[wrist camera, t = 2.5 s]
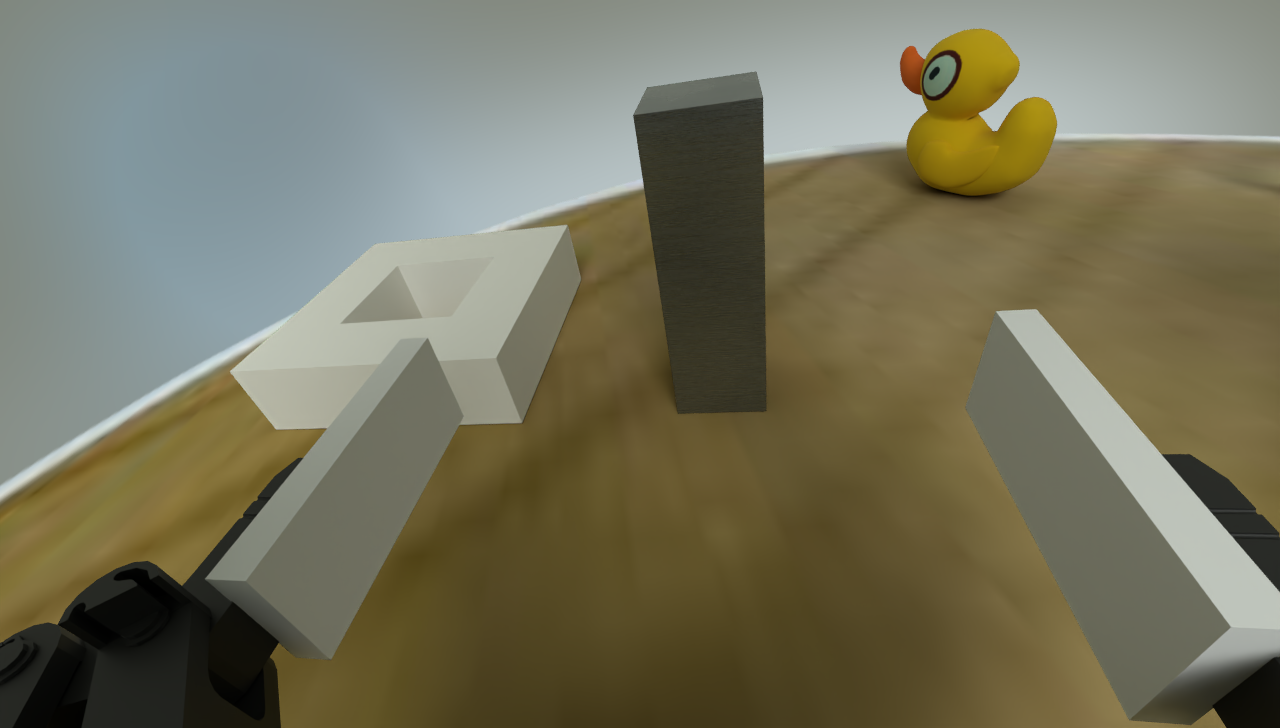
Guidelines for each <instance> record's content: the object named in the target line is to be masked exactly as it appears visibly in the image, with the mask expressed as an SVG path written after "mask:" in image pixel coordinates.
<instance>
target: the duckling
mask: <svg viewBox="0 0 1280 728" xmlns="http://www.w3.org/2000/svg"><path fill="white" fill-rule="evenodd" d="M1019 64H1020V63H1019V59H1018V57H1017V56H1016V55H1015V54H1014V53H1013V51H1012V50H1011V48H1010V47H1009V46H1008V44H1007V43H1006V42H1005V41H1004V40H1003V39H1002V38H1001V37H1000V36H999V35H998V34H996V33H994V32H992V31H989V30H985V29H970V30H964V31H961V32H958V33H956V34H953V35H951V36H949V37H947V38H945V39H943V40H942V41H940V42H939V43H938V44H936V45H935V46H934V47H933V48H932V49H931V51H930V52H929V53H928V55H927V57H926V59H923V58H922V57H921V56H920V55H919V54H918V53H917V51H916V48H915V47H914V46H909V47H907V48H906V49H905V51H904V52H903V54H902V57H901V61H900V71H901V77H902V81H903V83H904V85H905V86H906V87H907V88H908V89H909V90H910V91H911V92H913V93H915V94H919V95H922V98H923V101H924V103H925V105H926V108H927V110H928V111H927V112H926V113H924V114H923V115H922V116H921V117H920V118H919V119H918V120H917V121H916V122H915V123H914V125H913V126H912V128H911V130H910V132H909V135H908V139H907V154H908V158H909V160H910V162H911V164H912V166H913V168H914V170H915V171H916V173H917V174H918V176H919V177H920V178H921V180H922V181H923V182H925V183H926V184H927V185H929V186H931V187H933V188H936V189H939V190H944V191H948V192H952V193H957V194H961V195H970V196H976V195H986V194H992V193H998V192H1002V191H1005V190H1009V189H1011V188H1014V187H1016V186H1018V185H1020V184H1022V183H1023V182H1025V181H1027V180H1028V179H1030V178H1031V177H1032V176H1033V175H1035V174H1036V173H1037V172H1038V170H1039V169H1040V167H1041V166H1042V164H1043V163H1044V161H1045V159H1046V157H1047V155H1048V153H1049V150H1050V148H1051V145H1052V142H1053V139H1054V136H1055V133H1056V128H1057V120H1056V116H1055V113H1054V110H1053V108H1052V106H1051V104H1050V103H1049V102H1048V101H1046V100H1044V99H1043V98H1039V97H1032V98H1027V99H1024V100H1023V101H1021V102H1019V103H1018V104H1016V105H1015V106H1014V107H1013V108H1012V109H1011V111H1010V112H1009V113H1008V115H1007V116H1006V118H1005V120H1004V121H1003V123H1002V124H1001V126H1000V128H999V129H998V131H992V129H991V128H990V127H989V126H988V125H987V124H986V122H985V121H984V120H983V119H982V118H981V117H980V115H979V114H978V113H979V112H982V111H984V110H986V109H987V108H989V107H991V106H992V105H993V104H994V103H995V102H996V101H997V100H998V99H999V98H1000V97H1001V96H1002V95H1003V93H1004V92H1005V91H1006V89H1007V87H1008V86H1009V85H1010V84H1011V83H1012V82H1013V81H1014V79H1015V78H1016V76H1017V74H1018V71H1019V66H1020V65H1019Z"/></svg>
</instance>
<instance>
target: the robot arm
mask: <svg viewBox="0 0 1280 728" xmlns="http://www.w3.org/2000/svg"><path fill="white" fill-rule="evenodd" d="M965 408H966V410H967V412H968V414H969V416H970V418H971V419H972V421H973V423H974V425H975V427H976V429H977V431H978V433H979V435H980V437H981V439H982V440H983V442H984V444H985V446H986V448H987V450H988V452H989V454H990V456H991V458H992V460H993V461H994V463H995V465H996V467H997V469H998V471H999V473H1000V475H1001V477H1002V479H1003V481H1004V482H1005V484H1006V486H1007V488H1008V490H1009V492H1010V494H1011V496H1012V498H1013V500H1014V502H1015V503H1016V505H1017V507H1018V509H1019V511H1020V513H1021V515H1022V517H1023V519H1024V521H1025V522H1026V524H1027V526H1028V528H1029V530H1030V532H1031V534H1032V536H1033V538H1034V540H1035V542H1036V543H1037V545H1038V547H1039V549H1040V551H1041V553H1042V555H1043V557H1044V559H1045V561H1046V563H1047V564H1048V566H1049V568H1050V570H1051V572H1052V574H1053V576H1054V578H1055V580H1056V582H1057V584H1058V585H1059V587H1060V589H1061V591H1062V593H1063V595H1064V597H1065V599H1066V601H1067V603H1068V605H1069V606H1070V608H1071V610H1072V612H1073V614H1074V616H1075V618H1076V620H1077V622H1078V624H1079V626H1080V627H1081V629H1082V631H1083V633H1084V635H1085V637H1086V639H1087V641H1088V643H1089V645H1090V646H1091V648H1092V650H1093V652H1094V654H1095V656H1096V658H1097V660H1098V662H1099V664H1100V666H1101V667H1102V669H1103V671H1104V673H1105V675H1106V677H1107V679H1108V681H1109V683H1110V685H1111V687H1112V688H1113V690H1114V692H1115V694H1116V696H1117V698H1118V700H1119V702H1120V704H1121V706H1122V708H1123V709H1124V711H1125V713H1126V715H1127V717H1128V719H1129V720H1133V721H1146V722H1159V723H1172V724H1186V725H1192V724H1193V723H1194V722H1196V721H1197V720H1198V719H1199V718H1201V717H1202V716H1203V715H1205V714H1206V713H1207V712H1209V711H1210V710H1211V709H1212V708H1214V709H1215V711H1216V712H1217V714H1218V715H1219V717H1220V718H1221V720H1222V721H1223V723H1224V725H1225V726H1226V728H1280V537H1279V532H1278V531H1277V530H1276V529H1275V528H1274V527H1273V526H1272V525H1271V524H1270V523H1269V522H1268V521H1267V520H1266V519H1265V518H1264V516H1263V515H1258V514H1257V513H1256V508H1255V507H1254V506H1253V505H1252V504H1251V503H1250V502H1249V501H1248V500H1247V499H1246V497H1245V496H1244V495H1243V494H1242V493H1241V492H1240V491H1239V490H1238V489H1237V488H1236V487H1235V486H1234V485H1233V484H1232V483H1231V482H1230V481H1229V479H1227V478H1226V477H1224V476H1222V475H1221V474H1219V473H1218V472H1216V471H1215V470H1213V469H1212V468H1210V467H1209V466H1207V465H1206V464H1204V463H1202V462H1201V461H1199V460H1198V459H1196V458H1195V457H1193V456H1192V455H1190V454H1160V452H1159V451H1158V450H1157V449H1156V448H1155V447H1154V445H1153V444H1152V443H1151V442H1150V441H1149V440H1148V438H1147V437H1146V436H1145V435H1144V434H1143V433H1142V431H1141V430H1140V429H1139V428H1138V427H1137V426H1136V424H1135V423H1134V422H1133V421H1132V420H1131V419H1130V418H1129V416H1128V415H1127V414H1126V413H1125V412H1124V411H1123V409H1122V408H1121V407H1120V406H1119V405H1118V404H1117V402H1116V401H1115V400H1114V399H1113V398H1112V397H1111V395H1110V394H1109V393H1108V392H1107V391H1106V390H1105V388H1104V387H1103V386H1102V385H1101V384H1100V383H1099V381H1098V380H1097V379H1096V378H1095V377H1094V376H1093V374H1092V373H1091V372H1090V371H1089V370H1088V369H1087V368H1086V366H1085V365H1084V364H1083V363H1082V362H1081V361H1080V359H1079V358H1078V357H1077V356H1076V355H1075V354H1074V352H1073V351H1072V350H1071V349H1070V348H1069V347H1068V345H1067V344H1066V343H1065V342H1064V341H1063V340H1062V338H1061V337H1060V336H1059V335H1058V334H1057V333H1056V331H1055V330H1054V329H1053V328H1052V327H1051V326H1050V324H1049V323H1048V322H1047V321H1046V320H1045V319H1044V318H1043V316H1042V315H1041V314H1040V313H1039V312H1038V311H1037V309H1032V310H1011V311H996V312H995V315H994V319H993V322H992V325H991V328H990V331H989V334H988V338H987V341H986V344H985V347H984V350H983V353H982V357H981V360H980V363H979V366H978V369H977V372H976V375H975V379H974V382H973V385H972V388H971V391H970V394H969V398H968V401H967V404H966V407H965ZM463 417H464V415H463V413H462V411H461V409H460V406H459V404H458V402H457V400H456V398H455V396H454V393H453V391H452V389H451V387H450V385H449V383H448V380H447V378H446V376H445V374H444V372H443V370H442V368H441V365H440V363H439V361H438V359H437V357H436V355H435V352H434V350H433V348H432V346H431V344H430V342H429V339H428V338H408V339H400V340H399V341H398V343H397V344H396V345H395V346H394V348H393V349H392V350H391V351H390V352H389V354H388V355H387V356H386V357H385V359H384V360H383V361H382V362H381V363H380V365H379V366H378V367H377V368H376V370H375V371H374V372H373V373H372V375H371V376H370V377H369V378H368V379H367V381H366V382H365V383H364V384H363V386H362V387H361V388H360V389H359V391H358V392H357V393H356V394H355V395H354V397H353V398H352V399H351V400H350V402H349V403H348V404H347V405H346V406H345V408H344V409H343V410H342V411H341V413H340V414H339V415H338V416H337V418H336V419H335V420H334V421H333V422H332V424H331V425H330V426H329V427H328V429H327V430H326V431H325V432H324V434H323V435H322V436H321V437H320V438H319V440H318V441H317V442H316V443H315V445H314V446H313V447H312V448H311V449H310V451H309V452H308V453H307V454H306V456H305V457H304V458H298V459H296V460H295V461H294V462H292V463H291V464H290V465H289V466H287V467H286V468H285V469H283V470H282V471H281V472H280V473H278V474H277V475H276V476H275V477H274V478H273V479H272V480H271V481H270V483H269V484H268V485H267V486H266V487H265V489H264V490H263V491H262V492H261V493H260V495H259V496H258V500H257V501H254V502H253V503H252V504H251V505H250V506H249V508H248V509H247V510H246V511H245V512H244V514H243V518H242V519H239V520H238V521H237V522H236V523H235V524H234V525H233V527H232V528H231V529H230V530H229V531H228V533H227V534H226V535H225V536H224V537H223V539H222V540H221V541H220V542H219V543H218V545H217V546H216V547H215V548H214V549H213V550H212V552H211V553H210V554H209V555H208V556H207V558H206V559H205V560H204V561H203V562H202V564H201V565H200V566H199V567H198V568H197V570H196V571H195V572H194V573H193V574H192V575H191V577H190V578H189V579H188V580H187V581H186V582H185V583H184V585H183V586H181V585H180V584H179V583H177V582H176V581H175V580H174V579H173V578H171V577H170V576H169V575H168V574H166V573H165V572H164V571H163V570H162V569H160V568H159V567H158V566H157V565H155V564H153V563H151V562H149V561H143V562H133V563H130V564H128V565H125V566H122V567H119V568H117V569H115V570H113V571H111V572H110V573H108V574H106V575H104V576H103V577H101V578H99V579H98V580H96V581H95V582H94V583H93V584H91V585H90V586H89V587H88V588H86V589H85V590H84V591H83V592H81V593H80V594H79V595H78V596H77V597H76V598H75V600H74V601H73V602H72V603H71V604H70V605H69V606H68V607H67V609H66V610H65V612H64V614H63V615H62V617H61V619H60V621H59V623H58V625H56V624H52V623H44V624H39V625H34V626H31V627H29V628H27V629H25V630H23V631H20V632H18V633H16V634H14V635H13V636H11V637H10V638H8V639H6V640H4V642H1V643H0V728H281V722H280V708H279V693H278V678H277V669H276V666H275V663H274V661H273V660H272V659H271V658H270V656H271V654H272V652H273V651H274V649H275V648H276V646H277V645H278V643H280V644H281V645H282V646H283V647H284V648H285V649H287V650H288V651H289V652H290V653H291V654H292V655H294V656H295V657H298V658H312V659H325V660H331V659H332V657H333V655H334V653H335V652H336V650H337V648H338V646H339V644H340V642H341V641H342V639H343V637H344V635H345V633H346V631H347V630H348V628H349V626H350V624H351V622H352V620H353V619H354V617H355V615H356V613H357V611H358V609H359V608H360V606H361V604H362V602H363V600H364V598H365V597H366V595H367V593H368V591H369V589H370V587H371V586H372V584H373V582H374V580H375V578H376V576H377V575H378V573H379V571H380V569H381V567H382V565H383V564H384V562H385V560H386V558H387V556H388V555H389V553H390V551H391V549H392V547H393V545H394V544H395V542H396V540H397V538H398V536H399V534H400V533H401V531H402V529H403V527H404V525H405V523H406V522H407V520H408V518H409V516H410V514H411V512H412V511H413V509H414V507H415V505H416V503H417V501H418V500H419V498H420V496H421V494H422V492H423V490H424V489H425V487H426V485H427V483H428V481H429V479H430V478H431V476H432V474H433V472H434V470H435V468H436V467H437V465H438V463H439V461H440V459H441V458H442V456H443V454H444V452H445V450H446V448H447V447H448V445H449V443H450V441H451V439H452V437H453V436H454V434H455V432H456V430H457V428H458V426H459V425H460V423H461V421H462V419H463ZM60 626H61V627H60ZM68 631H69V632H68ZM73 634H74V635H73Z"/></svg>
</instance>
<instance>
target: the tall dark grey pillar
mask: <svg viewBox="0 0 1280 728" xmlns="http://www.w3.org/2000/svg"><path fill="white" fill-rule="evenodd" d="M633 116H634V123H635V129H636V136H637V143H638V150H639V157H640V163H641V170H642V176H643V183H644V190H645V197H646V203H647V210H648V217H649V223H650V230H651V237H652V243H653V250H654V257H655V263H656V270H657V277H658V284H659V290H660V297H661V304H662V310H663V317H664V324H665V330H666V337H667V344H668V350H669V357H670V364H671V370H672V377H673V384H674V390H675V397H676V404H677V411H678V413H714V412H750V411H766V333H765V240H764V150H763V148H764V147H763V96H762V92H761V88H760V84H759V80H758V76H757V72H750V73H743V74H736V75H730V76H723V77H717V78H709V79H702V80H695V81H689V82H682V83H675V84H668V85H661V86H654V87H647V89H646V91H645V93H644V95H643V97H642V99H641V101H640V103H639V105H638V107H637V109H636V111H635V113H634V115H633Z"/></svg>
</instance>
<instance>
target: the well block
mask: <svg viewBox="0 0 1280 728" xmlns="http://www.w3.org/2000/svg"><path fill="white" fill-rule="evenodd" d="M580 281H581V276H580V272H579V268H578V264H577V260H576V256H575V252H574V248H573V244H572V240H571V236H570V232H569V228H568V225H562V226H551V227H541V228H531V229H521V230H511V231H501V232H491V233H481V234H471V235H462V236H452V237H441V238H431V239H421V240H410V241H400V242H391V243H380V244H375V245H373V246H372V247H371V248H370V249H369V250H368V251H366V252H365V253H364V254H363V255H362V256H361V257H360V258H359V259H357V260H356V261H355V262H354V263H353V264H352V265H351V266H349V268H347V269H346V270H345V271H344V272H343V273H342V274H340V275H339V276H338V277H337V278H336V279H335V280H334V281H332V282H331V283H330V284H329V285H328V286H327V287H326V288H324V289H323V290H322V291H321V292H320V293H319V294H318V295H316V296H315V297H314V298H313V299H312V300H311V301H310V302H309V303H307V304H306V305H305V306H304V307H303V308H302V309H301V310H299V311H298V312H297V313H296V314H295V315H294V316H293V317H291V318H290V319H289V320H288V321H287V322H286V323H285V324H284V325H282V326H281V327H280V328H279V329H278V330H277V331H276V332H274V333H273V334H272V335H271V336H270V337H269V338H268V339H266V340H265V341H264V342H263V343H262V344H261V345H260V346H259V347H257V348H256V349H255V350H254V351H253V352H252V353H251V354H249V355H248V356H247V357H246V358H245V359H244V360H243V361H241V362H240V363H239V364H238V365H237V366H236V367H235V368H234V369H232V370H231V371H230V372H231V374H232V375H233V376H234V377H235V379H236V380H237V381H238V382H239V384H240V385H241V386H242V387H243V389H244V390H245V391H246V392H247V394H248V395H249V396H250V397H251V399H252V400H253V401H254V402H255V404H256V405H257V406H258V407H259V409H260V410H261V411H262V412H263V414H264V415H265V416H266V417H267V419H268V420H269V421H270V422H271V424H272V425H273V426H274V427H275V429H276V430H278V429H316V428H328V427H329V426H330V425H331V424H332V422H333V421H334V420H335V419H336V418H337V416H338V415H339V414H340V413H341V411H342V410H343V409H344V408H345V406H346V405H347V404H348V403H349V402H350V400H351V399H352V398H353V397H354V395H355V394H356V393H357V392H358V391H359V389H360V388H361V387H362V386H363V384H364V383H365V382H366V381H367V379H368V378H369V377H370V376H371V375H372V373H373V372H374V371H375V370H376V368H377V367H378V366H379V365H380V363H381V362H382V361H383V360H384V359H385V357H386V356H387V355H388V354H389V352H390V351H391V350H392V349H393V348H394V346H395V345H396V344H397V343H398V341H399V340H400V339H408V338H428V339H429V342H430V344H431V346H432V348H433V350H434V352H435V355H436V357H437V359H438V361H439V363H440V365H441V368H442V370H443V372H444V374H445V376H446V378H447V380H448V383H449V385H450V387H451V389H452V391H453V393H454V396H455V398H456V400H457V402H458V404H459V406H460V409H461V411H462V413H463V415H464V417H463V419H462V421H461V423H460V425H469V424H507V423H522V422H523V420H524V417H525V415H526V412H527V410H528V408H529V405H530V403H531V400H532V398H533V395H534V393H535V391H536V388H537V386H538V383H539V381H540V378H541V376H542V374H543V371H544V369H545V366H546V364H547V361H548V359H549V357H550V354H551V352H552V349H553V347H554V344H555V342H556V340H557V337H558V335H559V332H560V330H561V328H562V325H563V323H564V320H565V318H566V315H567V313H568V311H569V308H570V306H571V303H572V301H573V298H574V296H575V294H576V291H577V289H578V286H579V284H580Z"/></svg>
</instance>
